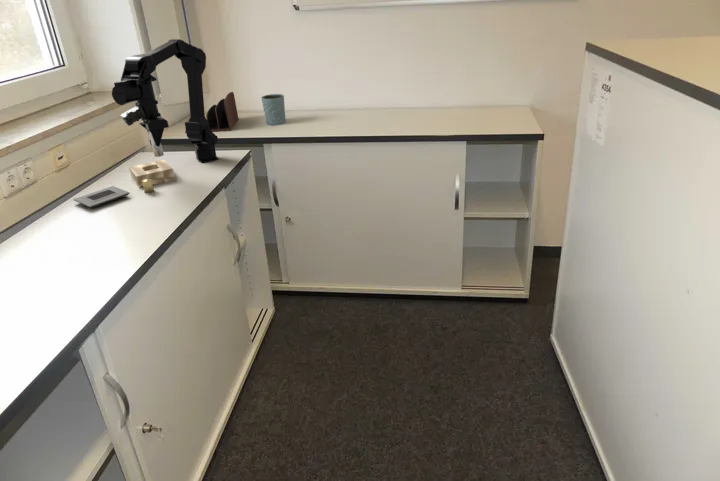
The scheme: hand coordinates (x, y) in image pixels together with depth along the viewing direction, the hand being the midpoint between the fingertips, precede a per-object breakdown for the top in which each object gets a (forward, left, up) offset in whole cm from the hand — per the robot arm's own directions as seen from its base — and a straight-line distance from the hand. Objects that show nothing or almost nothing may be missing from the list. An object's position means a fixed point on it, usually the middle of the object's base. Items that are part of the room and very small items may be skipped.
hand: (156, 145), depth 179 cm
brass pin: (+7, +8, -12) cm, 16 cm away
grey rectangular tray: (+21, +6, -13) cm, 25 cm away
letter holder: (-41, -56, -13) cm, 70 cm away
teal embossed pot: (-61, -43, -13) cm, 76 cm away
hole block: (+3, -4, -12) cm, 14 cm away
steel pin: (0, 0, -4) cm, 4 cm away
